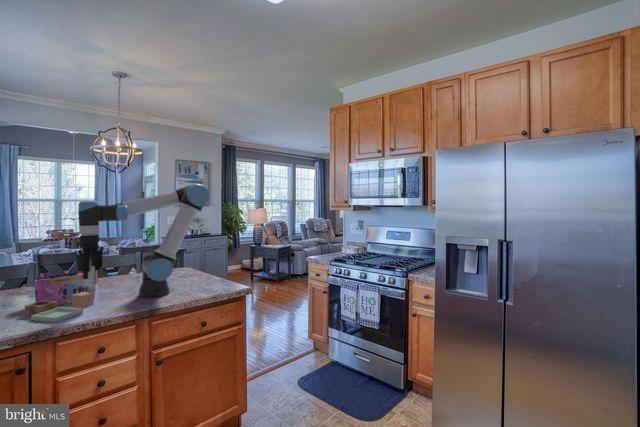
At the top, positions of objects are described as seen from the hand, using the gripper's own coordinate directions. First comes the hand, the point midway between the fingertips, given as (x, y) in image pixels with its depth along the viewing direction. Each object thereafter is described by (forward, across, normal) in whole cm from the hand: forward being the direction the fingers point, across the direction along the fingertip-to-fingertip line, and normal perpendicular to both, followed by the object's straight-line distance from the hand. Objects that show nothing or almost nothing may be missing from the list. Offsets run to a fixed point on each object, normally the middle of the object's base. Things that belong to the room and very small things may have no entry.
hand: (91, 284), depth 153 cm
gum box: (+12, -7, -22) cm, 26 cm away
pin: (+4, 0, 0) cm, 4 cm away
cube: (+12, -3, -9) cm, 15 cm away
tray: (+11, +12, -6) cm, 17 cm away
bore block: (+11, +10, -17) cm, 22 cm away
